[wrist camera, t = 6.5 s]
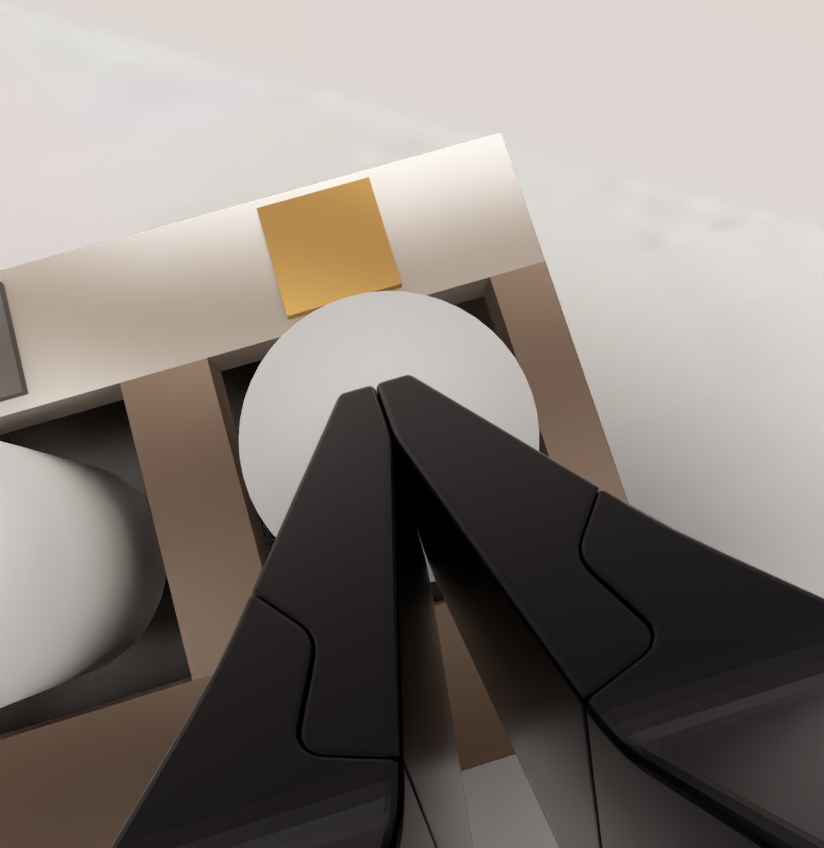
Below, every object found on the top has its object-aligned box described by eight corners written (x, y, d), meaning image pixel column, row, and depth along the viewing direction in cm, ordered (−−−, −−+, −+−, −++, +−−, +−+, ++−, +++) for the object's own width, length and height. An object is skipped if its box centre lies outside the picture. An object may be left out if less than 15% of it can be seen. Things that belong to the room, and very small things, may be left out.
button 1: (526, 541, 14) (580, 536, 10) (321, 604, 14) (283, 627, 10) (464, 343, 15) (487, 257, 11) (266, 400, 15) (205, 336, 10)
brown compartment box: (590, 643, 19) (699, 698, 12) (-219, 897, 18) (-628, 1123, 11) (470, 272, 21) (502, 126, 13) (-283, 487, 20) (-677, 451, 12)
